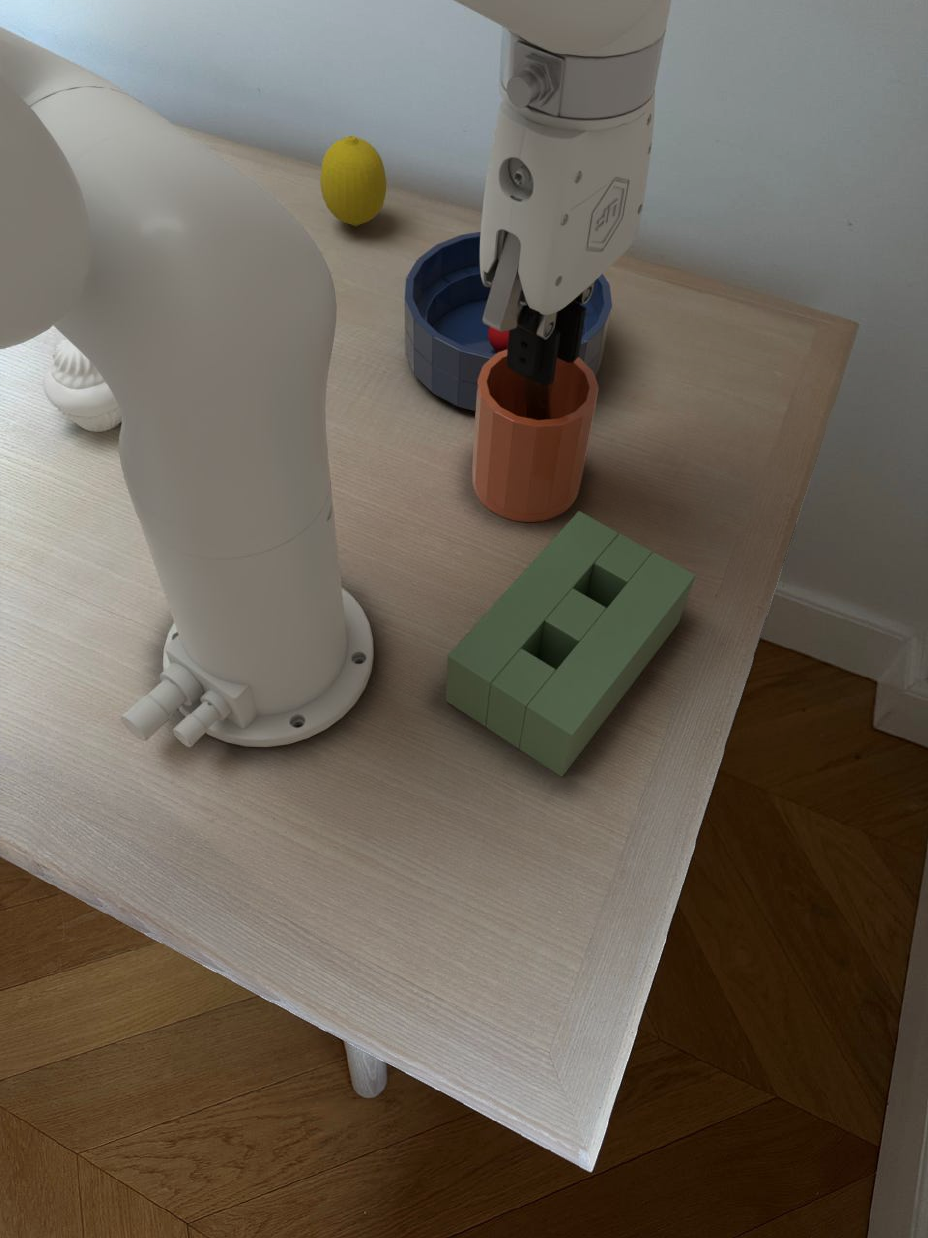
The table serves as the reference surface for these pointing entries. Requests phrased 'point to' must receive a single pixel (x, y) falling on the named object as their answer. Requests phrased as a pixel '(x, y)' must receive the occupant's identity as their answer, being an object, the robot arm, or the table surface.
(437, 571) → the table surface
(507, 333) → the berry
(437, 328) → the bowl
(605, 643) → the holder
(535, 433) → the crock
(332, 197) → the lemon
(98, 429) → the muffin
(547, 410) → the stick
